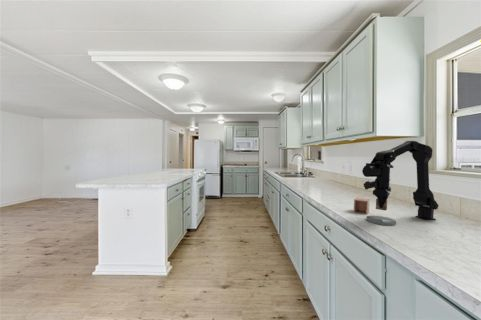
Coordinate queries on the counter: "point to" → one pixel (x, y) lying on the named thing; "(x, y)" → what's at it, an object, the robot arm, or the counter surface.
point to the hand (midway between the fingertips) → (381, 207)
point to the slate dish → (381, 220)
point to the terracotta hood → (361, 204)
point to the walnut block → (383, 206)
